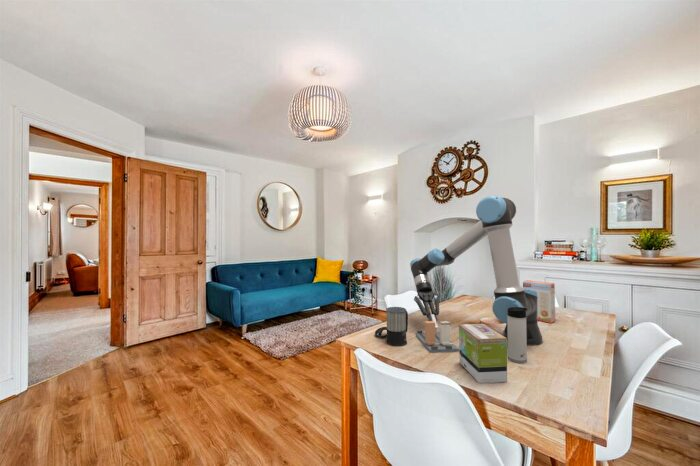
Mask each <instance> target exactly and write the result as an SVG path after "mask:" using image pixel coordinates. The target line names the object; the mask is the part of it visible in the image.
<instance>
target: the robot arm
mask: <svg viewBox="0 0 700 466" xmlns="http://www.w3.org/2000/svg"><path fill="white" fill-rule="evenodd" d="M475 209H476V210H475V213H476V216H477V218H478V219H479V220H478V222H476V223H474V225H473V226H471V227H470V228H469V229H467V231H465V232H464V233H462V234H461V235H460V236H459V237H457V238H456V239H455V240H453V242H451V243H450V244H449V245H447V246H446V247H445V248H444V249H442V250H441V249H438V248H434V249H432V250H430V251H429V252H428V253H427V254H426V255H424V256H423V257H421V258H419V257H418V258H415V259H412V260H411V261H410V263H409V266H410V271H411V274H412V276H413V282H414V285H415V289H416V293H417V295H415V296H414V297H413V301H414V302H415V303H416V304H417V306H418V308H419V310H420V312H421V314H422V316H424V317H426V318H427V321H434V322H435V331H437V330H438V328H439V326H438V322H439V319H438V317H437V316H439V314H440V299H441V298H440V295H435V293H434V291H433V288H432V284H431V281H430V277H429V274H428V273H429V272H431V270H433V269H434V268H436V267H440V266H441V267H442V266H449V265H452V264H453V263H454V262H455V259H457V258H458V257H460V256H462V254H464V253H465V252H467V251H468V250H469V249H470V248H472V247H473V246H474V245H476V244H477V243H478V242H480V241H481V240H483V239H484V238H485V237H487V239H488V243H489V249H490V256H491V261H492V266H493V271H494V273H493V274H494V279H495V284H496V287H495V289H494V290H493V297H494V301H493V302H492V306H491V307H492V312H493V315H494V316H495V318H497V320H499V321H500V322H501V323H503V324H505V326H504V330H503V336H504V337H506V338H507V341H508V332H507V317H508V316H507V315H508V312H507V309H508V308H511V307H522V308H527V311H526V338H527V346H539V345H541V344H543V335H542V333H541V332H542V331H541V330H540V327H539V324H538V320H537V319H538V314H537V299H538V296H537V292H536V291H535V290H532V289H524V288H523V286H521V285H520V282H519V277H518V270H517V265H516V260H515V259H516V258H515V254H514V248H513V243H512V237H511V232H510V229H511V227H512V226H513V221H512V220H513V219H514V218H515V216H516V213H517V207H516V204H515V203H514V201H512V200H511V199H509V198H506V197H502V196H498V195H489V196H488V195H487V196H485V197H483V198H482V199H481V200H480V201H478V203H477V205H476V208H475ZM433 299H434V300H433Z"/></svg>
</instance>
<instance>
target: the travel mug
mask: <svg viewBox="0 0 700 466" xmlns="http://www.w3.org/2000/svg"><path fill="white" fill-rule="evenodd" d="M526 311H527V308H522V307H511V308H508V309H507V312H508V315H507V316H508V317H507V332H508V340H507V360H508V361H510V362H513V363H516V364H526V363H527V362H528V358H527V356H528V355H527V353H528V351H527V350H528V349H527V348H528V347H527V346H528V345H527V338H526Z"/></svg>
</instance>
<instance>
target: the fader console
mask: <svg viewBox="0 0 700 466" xmlns="http://www.w3.org/2000/svg"><path fill="white" fill-rule="evenodd" d="M415 335H416V336H415V337H416V338H417V339H418V341H419V342H420V341H421V342H420V343H421V344H422V345H423V346H424V348H425V349H426V350H427V351H428V352H429V353H430V354H431V353H433V354H436V353H437V354H438V353H459V347H458V346H457V345H455V344H454V343H453V342H452V341H451V340H450V345H442V344H441V343H440V332H439V331H437V332H436V330H435V322H434V321H429V320H426V321H424V332H423V330H422V329H421V330H420V329H418V330H416V332H415Z"/></svg>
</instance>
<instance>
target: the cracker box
mask: <svg viewBox="0 0 700 466" xmlns="http://www.w3.org/2000/svg"><path fill="white" fill-rule="evenodd" d="M555 284H556V283H554V282H546V281H545V282H544V281H536V280H523V281H522V288H524V289H532V290H535V291H536V292H537V296H538V299H537V314H538V319H537V321H539V322H543V323H548V324H553V323H554V322H556V289H555V288H556V287H555Z"/></svg>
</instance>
